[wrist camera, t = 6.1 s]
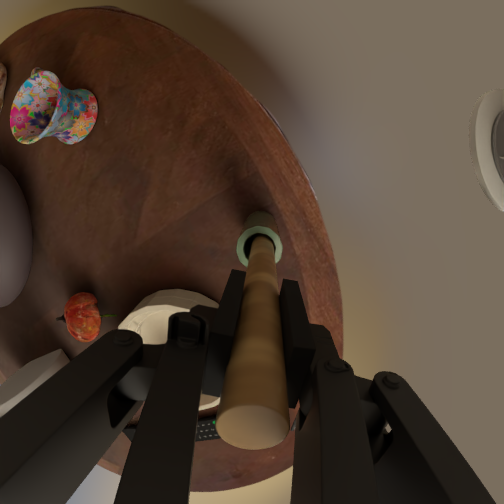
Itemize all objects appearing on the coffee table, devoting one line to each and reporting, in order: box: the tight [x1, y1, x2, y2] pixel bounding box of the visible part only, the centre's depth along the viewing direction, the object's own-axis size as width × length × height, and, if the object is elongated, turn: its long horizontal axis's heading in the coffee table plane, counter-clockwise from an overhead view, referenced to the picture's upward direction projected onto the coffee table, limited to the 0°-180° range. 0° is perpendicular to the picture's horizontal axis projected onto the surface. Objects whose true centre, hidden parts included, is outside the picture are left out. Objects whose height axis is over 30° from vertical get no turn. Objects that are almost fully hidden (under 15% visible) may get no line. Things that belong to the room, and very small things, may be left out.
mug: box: [10, 67, 98, 144], centre depth 30 cm, size 12×9×11 cm
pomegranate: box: [56, 292, 117, 342], centre depth 39 cm, size 7×7×10 cm
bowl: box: [118, 289, 220, 410], centre depth 40 cm, size 18×18×6 cm
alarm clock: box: [0, 349, 70, 418], centre depth 37 cm, size 21×8×20 cm, turn 116°
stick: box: [215, 233, 290, 450], centre depth 21 cm, size 2×2×30 cm
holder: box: [236, 211, 283, 267], centre depth 32 cm, size 4×4×12 cm
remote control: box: [122, 416, 221, 442], centre depth 47 cm, size 5×24×1 cm, turn 110°
